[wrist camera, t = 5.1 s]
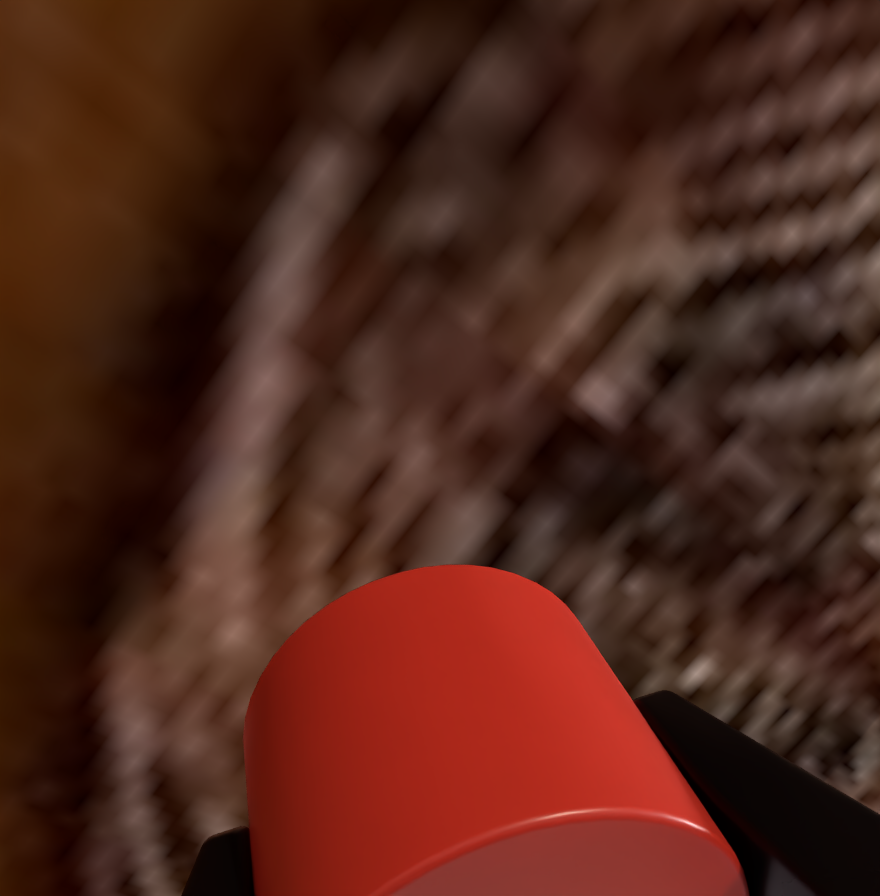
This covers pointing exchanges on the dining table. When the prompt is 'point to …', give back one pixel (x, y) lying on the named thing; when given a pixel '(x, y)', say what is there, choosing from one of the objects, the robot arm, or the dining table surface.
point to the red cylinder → (464, 755)
